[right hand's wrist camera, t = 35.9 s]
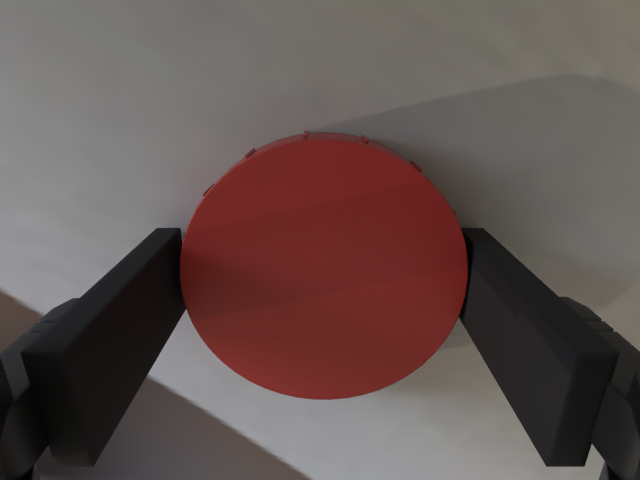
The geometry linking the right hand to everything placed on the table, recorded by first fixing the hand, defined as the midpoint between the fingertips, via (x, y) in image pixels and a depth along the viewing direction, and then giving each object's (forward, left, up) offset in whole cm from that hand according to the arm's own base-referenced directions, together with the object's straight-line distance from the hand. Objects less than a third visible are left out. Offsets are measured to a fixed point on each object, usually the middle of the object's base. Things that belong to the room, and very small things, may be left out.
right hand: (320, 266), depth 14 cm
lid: (0, 0, +1) cm, 1 cm away
